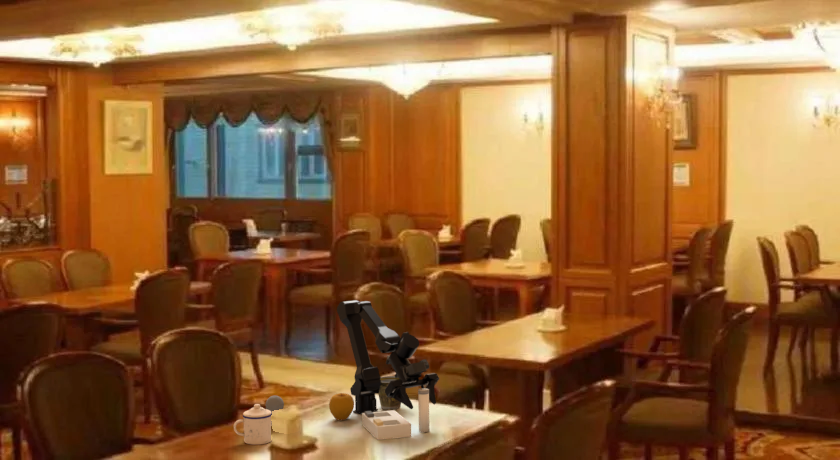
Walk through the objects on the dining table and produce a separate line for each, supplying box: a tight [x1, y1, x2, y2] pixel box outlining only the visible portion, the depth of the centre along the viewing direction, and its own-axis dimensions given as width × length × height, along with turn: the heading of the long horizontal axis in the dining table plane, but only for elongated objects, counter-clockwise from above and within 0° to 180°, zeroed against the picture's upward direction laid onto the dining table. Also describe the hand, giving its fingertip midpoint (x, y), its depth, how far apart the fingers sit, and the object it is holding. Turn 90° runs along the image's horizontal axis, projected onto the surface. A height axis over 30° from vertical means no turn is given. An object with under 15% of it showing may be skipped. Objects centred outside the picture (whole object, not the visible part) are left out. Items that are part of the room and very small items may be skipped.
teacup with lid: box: [233, 403, 273, 446], centre depth 345 cm, size 12×9×12 cm
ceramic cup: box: [377, 375, 402, 410], centre depth 385 cm, size 13×10×10 cm
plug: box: [417, 388, 430, 433], centre depth 354 cm, size 4×4×14 cm
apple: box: [328, 392, 355, 421], centre depth 371 cm, size 8×8×9 cm
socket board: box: [361, 409, 412, 441], centre depth 356 cm, size 19×11×5 cm, turn 17°
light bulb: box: [265, 395, 285, 412], centre depth 364 cm, size 6×6×10 cm
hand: (423, 406), depth 354 cm, fingers open, 9 cm apart
